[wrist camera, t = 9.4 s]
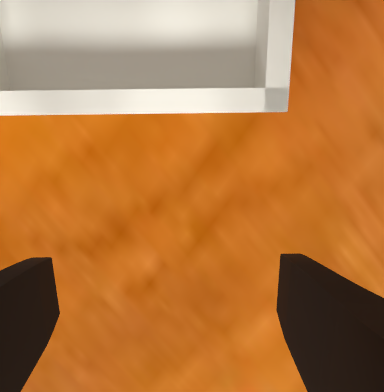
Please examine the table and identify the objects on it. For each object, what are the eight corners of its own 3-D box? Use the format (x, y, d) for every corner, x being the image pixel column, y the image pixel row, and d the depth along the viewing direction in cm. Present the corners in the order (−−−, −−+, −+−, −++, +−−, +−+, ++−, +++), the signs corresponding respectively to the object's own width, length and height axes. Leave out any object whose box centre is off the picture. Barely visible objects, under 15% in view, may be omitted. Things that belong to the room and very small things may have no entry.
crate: (10, 112, 18) (-39, 116, 14) (-22, -79, 15) (-92, -139, 11) (266, 108, 18) (287, 111, 14) (276, -82, 15) (305, -142, 12)
